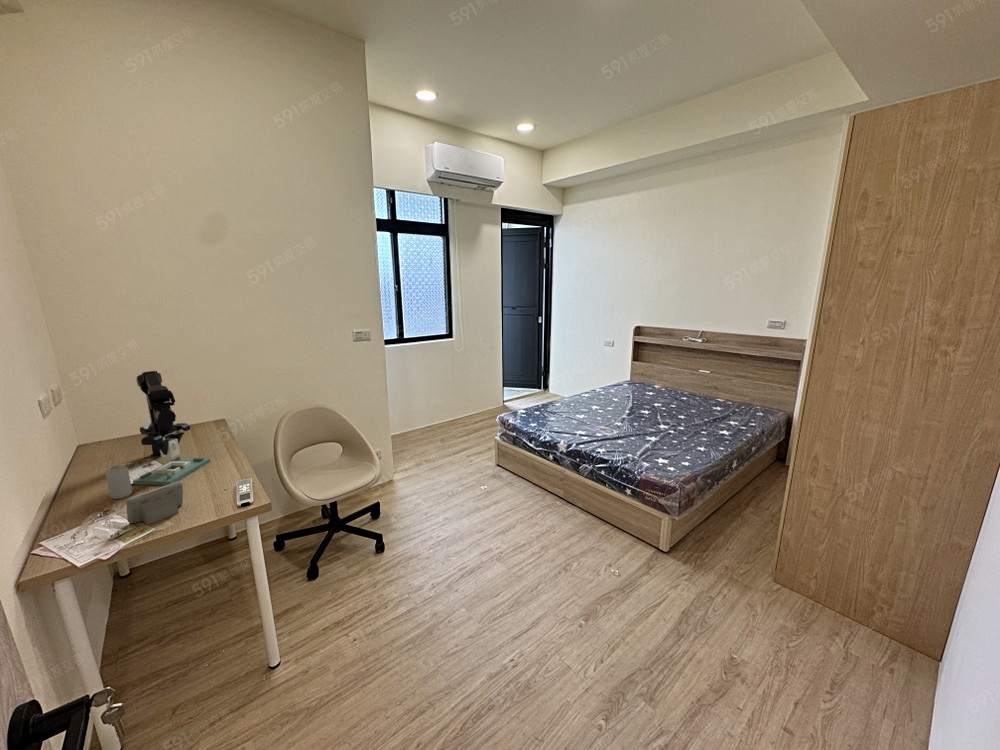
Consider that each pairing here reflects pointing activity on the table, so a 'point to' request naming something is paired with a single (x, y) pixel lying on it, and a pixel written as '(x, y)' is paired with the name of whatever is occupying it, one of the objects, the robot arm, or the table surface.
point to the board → (171, 471)
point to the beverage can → (118, 481)
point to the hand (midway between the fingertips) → (170, 452)
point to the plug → (171, 448)
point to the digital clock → (155, 504)
